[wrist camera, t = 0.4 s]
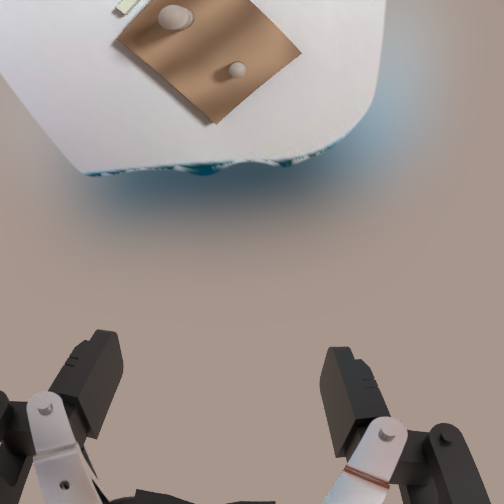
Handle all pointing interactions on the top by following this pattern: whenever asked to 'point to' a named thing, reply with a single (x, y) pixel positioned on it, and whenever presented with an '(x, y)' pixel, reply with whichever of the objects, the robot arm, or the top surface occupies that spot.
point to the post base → (210, 49)
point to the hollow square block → (127, 5)
